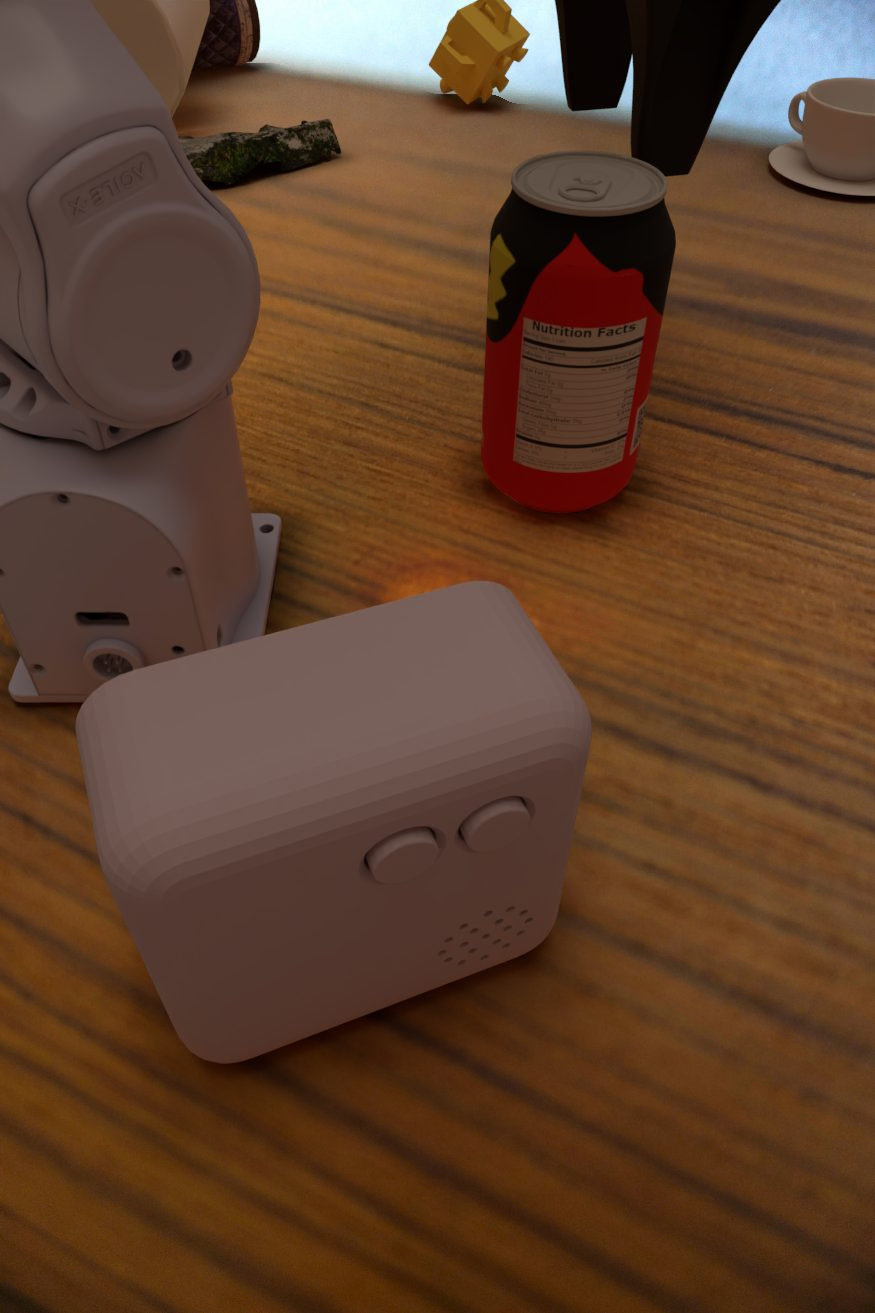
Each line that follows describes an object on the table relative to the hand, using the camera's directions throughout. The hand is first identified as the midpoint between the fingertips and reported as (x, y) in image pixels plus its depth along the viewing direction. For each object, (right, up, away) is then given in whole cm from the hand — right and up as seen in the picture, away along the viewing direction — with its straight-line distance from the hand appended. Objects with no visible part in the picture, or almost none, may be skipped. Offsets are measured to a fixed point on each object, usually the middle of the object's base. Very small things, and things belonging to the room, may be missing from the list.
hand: (624, 138), depth 39 cm
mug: (-34, +27, +35) cm, 55 cm away
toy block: (-2, +22, +33) cm, 40 cm away
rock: (-22, +9, +20) cm, 32 cm away
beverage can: (-3, -14, +2) cm, 14 cm away
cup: (-25, +33, +30) cm, 52 cm away
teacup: (+19, +11, +25) cm, 34 cm away
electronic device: (-9, -29, -13) cm, 33 cm away
